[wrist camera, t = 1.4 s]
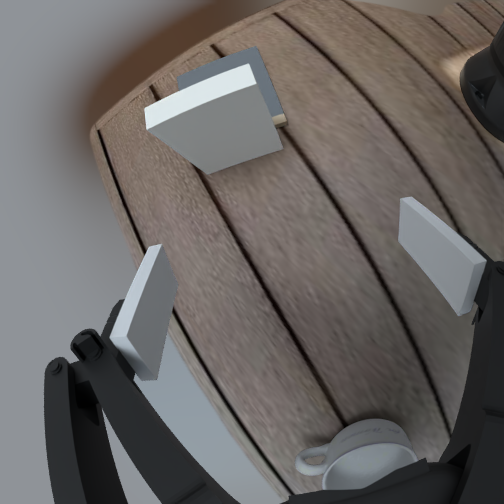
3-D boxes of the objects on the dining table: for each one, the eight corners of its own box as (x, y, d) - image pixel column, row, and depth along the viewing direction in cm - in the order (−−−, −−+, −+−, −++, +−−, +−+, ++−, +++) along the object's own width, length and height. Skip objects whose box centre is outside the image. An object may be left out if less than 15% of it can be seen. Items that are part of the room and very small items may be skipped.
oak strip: (287, 124, 33) (286, 121, 33) (192, 158, 36) (189, 155, 35) (285, 117, 34) (283, 113, 33) (191, 150, 37) (188, 147, 36)
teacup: (419, 418, 27) (437, 451, 20) (378, 477, 28) (384, 514, 20) (323, 391, 31) (321, 423, 23) (288, 454, 31) (278, 491, 23)
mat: (287, 123, 34) (287, 122, 33) (192, 157, 36) (191, 156, 36) (256, 47, 35) (256, 45, 35) (177, 78, 38) (176, 77, 38)
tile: (283, 148, 34) (256, 83, 20) (207, 174, 36) (146, 129, 22) (277, 131, 34) (248, 62, 20) (203, 157, 36) (144, 107, 23)
